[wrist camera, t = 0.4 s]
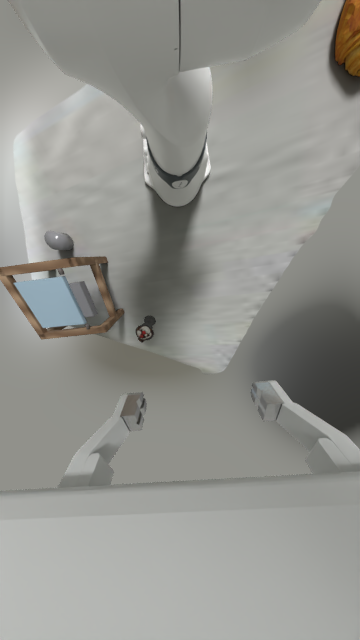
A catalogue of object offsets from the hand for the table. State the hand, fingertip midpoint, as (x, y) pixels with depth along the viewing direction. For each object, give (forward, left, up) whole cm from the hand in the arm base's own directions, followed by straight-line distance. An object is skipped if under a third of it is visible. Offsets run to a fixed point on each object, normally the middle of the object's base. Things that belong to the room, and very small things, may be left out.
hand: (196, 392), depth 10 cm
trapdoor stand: (-1, -37, -46) cm, 59 cm away
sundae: (+15, -16, -47) cm, 52 cm away
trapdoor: (-1, -36, -33) cm, 49 cm away
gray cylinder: (-18, -38, -47) cm, 63 cm away
